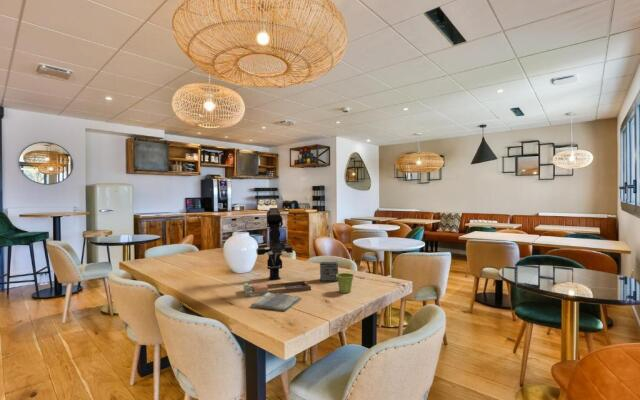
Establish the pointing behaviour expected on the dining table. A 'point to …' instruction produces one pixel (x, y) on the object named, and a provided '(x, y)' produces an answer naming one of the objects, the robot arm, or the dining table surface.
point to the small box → (328, 271)
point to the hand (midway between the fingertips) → (274, 266)
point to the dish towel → (276, 302)
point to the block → (259, 287)
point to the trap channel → (289, 288)
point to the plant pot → (345, 282)
